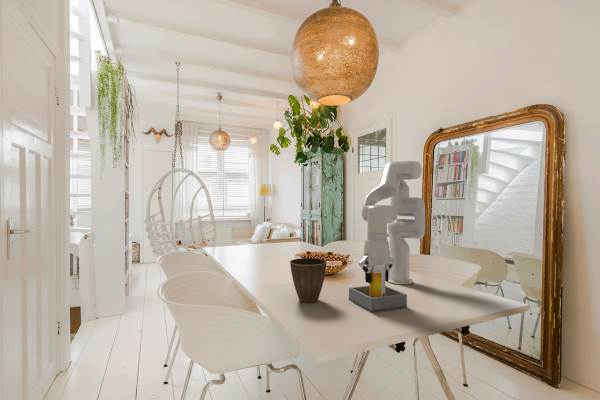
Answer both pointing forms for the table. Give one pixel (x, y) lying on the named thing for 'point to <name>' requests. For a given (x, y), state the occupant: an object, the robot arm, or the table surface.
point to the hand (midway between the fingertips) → (376, 281)
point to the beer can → (377, 281)
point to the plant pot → (308, 278)
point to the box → (378, 299)
